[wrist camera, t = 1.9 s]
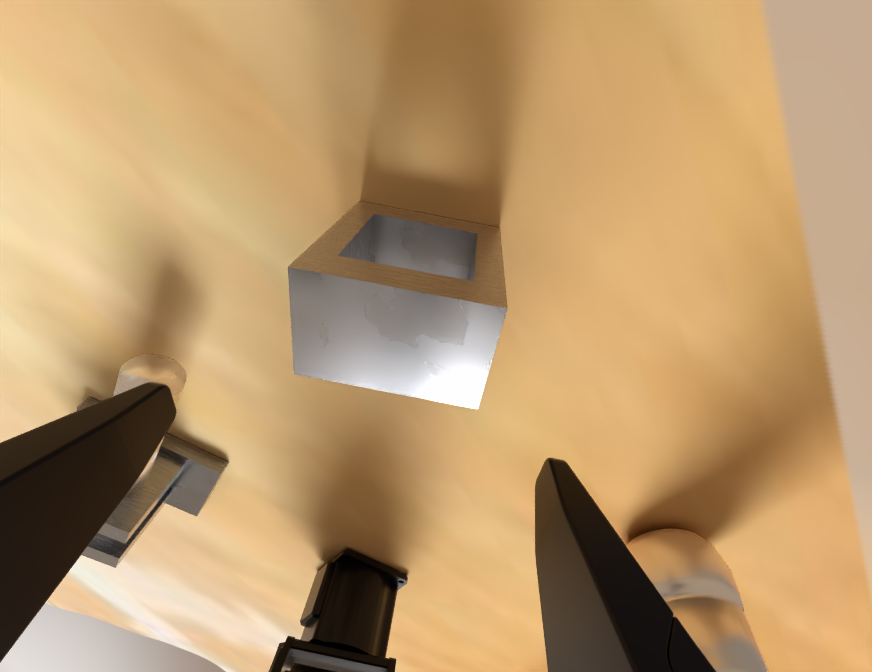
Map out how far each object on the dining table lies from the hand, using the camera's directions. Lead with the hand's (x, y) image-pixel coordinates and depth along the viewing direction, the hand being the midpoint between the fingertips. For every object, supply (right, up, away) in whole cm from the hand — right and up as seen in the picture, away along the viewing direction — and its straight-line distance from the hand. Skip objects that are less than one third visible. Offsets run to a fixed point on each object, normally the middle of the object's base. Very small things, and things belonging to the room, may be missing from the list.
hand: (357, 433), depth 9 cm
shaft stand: (-16, -3, +18) cm, 24 cm away
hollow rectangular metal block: (+1, +6, +9) cm, 11 cm away
